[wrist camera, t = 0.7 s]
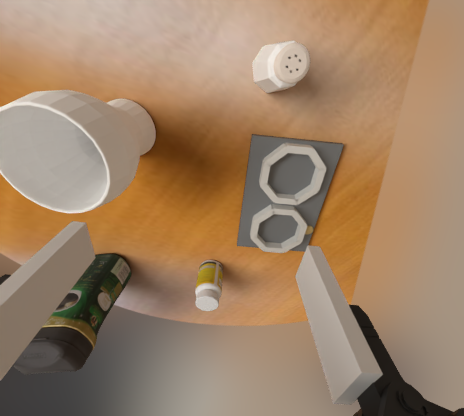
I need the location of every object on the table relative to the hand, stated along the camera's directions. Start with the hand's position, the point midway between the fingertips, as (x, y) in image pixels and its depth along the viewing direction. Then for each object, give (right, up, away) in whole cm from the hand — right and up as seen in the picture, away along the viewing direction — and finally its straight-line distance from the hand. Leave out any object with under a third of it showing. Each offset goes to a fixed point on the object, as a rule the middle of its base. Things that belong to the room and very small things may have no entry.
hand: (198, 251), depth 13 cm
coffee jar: (-23, -9, +32) cm, 40 cm away
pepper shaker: (+7, +20, +14) cm, 25 cm away
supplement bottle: (-2, -9, +31) cm, 33 cm away
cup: (-13, +14, +18) cm, 26 cm away
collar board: (+10, +4, +23) cm, 25 cm away
